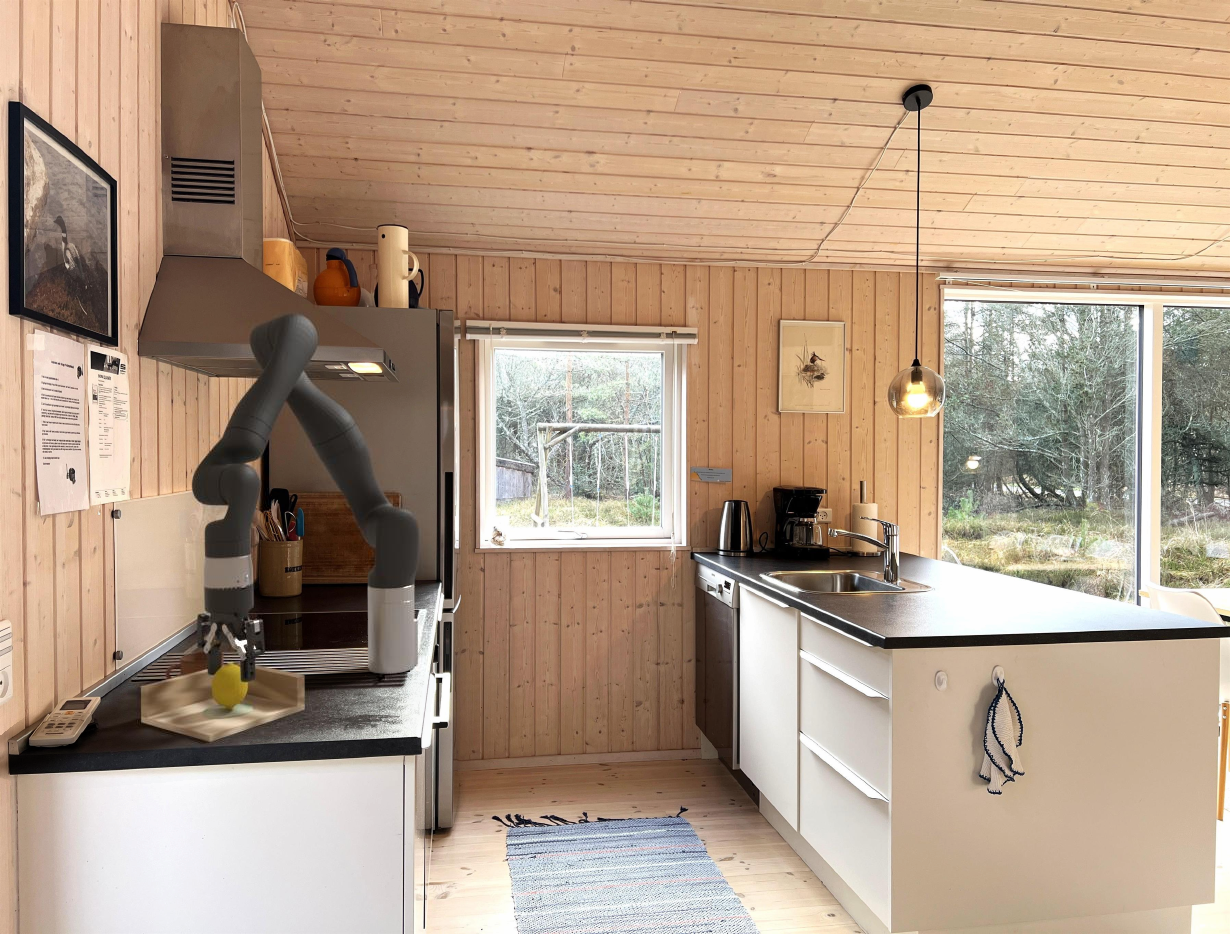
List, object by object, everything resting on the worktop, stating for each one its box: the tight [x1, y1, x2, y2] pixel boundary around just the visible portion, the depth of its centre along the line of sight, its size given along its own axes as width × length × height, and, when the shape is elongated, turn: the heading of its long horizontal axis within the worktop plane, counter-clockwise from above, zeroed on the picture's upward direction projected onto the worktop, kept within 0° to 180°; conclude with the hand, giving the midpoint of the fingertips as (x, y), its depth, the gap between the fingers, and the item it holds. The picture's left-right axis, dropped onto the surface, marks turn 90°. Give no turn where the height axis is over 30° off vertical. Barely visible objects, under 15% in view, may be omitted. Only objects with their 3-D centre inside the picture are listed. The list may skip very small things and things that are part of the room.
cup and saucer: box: [165, 651, 224, 680], centre depth 158 cm, size 12×12×6 cm
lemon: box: [212, 662, 248, 710], centre depth 141 cm, size 6×6×8 cm
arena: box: [140, 661, 306, 742], centre depth 142 cm, size 18×18×6 cm
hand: (231, 677), depth 141 cm, fingers open, 8 cm apart
